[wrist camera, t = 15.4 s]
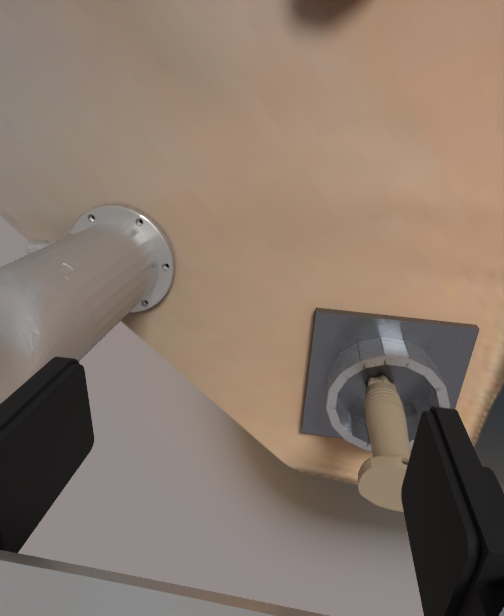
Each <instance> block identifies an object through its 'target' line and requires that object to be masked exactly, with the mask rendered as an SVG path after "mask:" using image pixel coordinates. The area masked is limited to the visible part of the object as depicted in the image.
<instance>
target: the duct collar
mask: <svg viewBox="0 0 504 616" xmlns="http://www.w3.org/2000/svg"><path fill="white" fill-rule="evenodd" d="M478 332H479V328H478V327H477V325H472V324H462V323H453V322H444V321H435V320H425V319H416V318H407V317H397V316H388V315H379V314H370V313H360V312H351V311H342V310H332V309H323V308H316V315H315V323H314V331H313V339H312V348H311V356H310V364H309V372H308V381H307V389H306V397H305V405H304V414H303V422H302V431H301V433H308V434H314V435H321V436H328V437H335V438H342V439H345V440H346V441H348V442H350V443H352V444H354V445H356V446H358V447H360V448H362V449H364V450H365V449H366V450H368V451H372V448H371V443H370V438H369V433H368V429H367V424H366V418H365V388H366V386H367V385H368V380H369V379H370V378H371V377H372V378H375V377H379V376H380V375H384V376H386V377H387V378H388V380H389V381H390V382H393V383H394V385H395V387H396V389H397V393H398V395H399V397H400V399H401V402H402V405H403V408H404V412H405V417H406V424H407V431H408V438H409V444H410V450H412V447H413V443H414V439H415V436H416V432H417V428H418V425H419V421H420V417H421V414H422V412H423V411H429V410H430V408H431V407H432V406H434V407H442V408H449V409H455V407H456V404H457V400H458V397H459V394H460V391H461V387H462V384H463V381H464V378H465V374H466V371H467V368H468V365H469V361H470V358H471V355H472V352H473V348H474V345H475V342H476V339H477V335H478Z"/></svg>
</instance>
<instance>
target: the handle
mask: <svg viewBox="0 0 504 616" xmlns="http://www.w3.org/2000/svg"><path fill="white" fill-rule="evenodd" d="M365 418H366V424H367V429H368V433H369V438H370V443H371V448H372V454H373V457H372V458H370V459H368V460H366V461H365V462H364V463H363V464H362V466H361V468H360V470H359V473H358V488H359V492H360V494H361V495H362V496H363V497H365V498H366V499H368V500H369V501H371V502H372V503H374V504H376V505H378V506H381V507H383V508H387V509H391V510H396V511H401V512H404V511H403V505H402V500H401V490H402V484H403V480H404V477H405V473H406V469H407V466H408V462H409V458H410V454H411V450H410V444H409V438H408V431H407V424H406V417H405V412H404V408H403V405H402V402H401V399H400V397H399V395H398V393H397V389H396V387H395V385H394V383H393V382H390V381H389V380H388V378H387V377H386V376H384V375H380V376H379V377H375V378H372V377H371V378H370V379H369V380H368V385H367V386H366V388H365Z"/></svg>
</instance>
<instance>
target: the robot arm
mask: <svg viewBox="0 0 504 616" xmlns="http://www.w3.org/2000/svg"><path fill="white" fill-rule="evenodd" d="M94 217H95V218H94ZM141 219H142V220H143V223H142V222H141ZM26 248H27V253H28V255H26V256H24V257H22V258H20V259H18V260H15V261H13V262H11V263H9V264H7V265H4V266H2V267H0V616H328V615H323V614H318V613H313V612H308V611H304V610H299V609H294V608H289V607H284V606H280V605H275V604H270V603H265V602H260V601H255V600H250V599H245V598H241V597H236V596H231V595H226V594H221V593H216V592H211V591H206V590H201V589H196V588H191V587H186V586H181V585H176V584H171V583H167V582H161V581H156V580H151V579H146V578H141V577H136V576H131V575H126V574H121V573H116V572H111V571H106V570H101V569H96V568H91V567H86V566H80V565H75V564H70V563H65V562H60V561H55V560H49V559H44V558H39V557H34V556H29V555H24V554H19V553H18V552H19V550H20V549H21V548H22V546H23V545H24V543H25V542H26V541H27V539H28V538H29V536H30V535H31V533H32V532H33V531H34V529H35V528H36V527H37V525H38V523H39V522H40V521H41V520H42V518H43V517H44V515H45V514H46V513H47V511H48V510H49V508H50V507H51V506H52V504H53V503H54V501H55V500H56V498H57V497H58V496H59V494H60V493H61V491H62V490H63V489H64V487H65V486H66V484H67V483H68V482H69V480H70V479H71V477H72V476H73V475H74V473H75V472H76V470H77V469H78V468H79V466H80V465H81V463H82V462H83V461H84V459H85V458H86V456H87V455H88V454H89V452H90V451H91V449H92V446H93V443H94V433H93V427H92V420H91V413H90V406H89V399H88V392H87V385H86V378H85V371H84V367H83V366H82V365H80V364H79V361H80V359H82V357H84V355H86V354H87V353H88V352H89V351H90V350H91V349H92V348H93V347H94V346H95V345H96V344H97V343H98V342H99V341H100V340H101V339H102V338H103V337H104V336H105V335H106V334H107V333H108V332H109V331H110V330H111V329H112V328H113V327H114V326H115V325H116V324H117V323H119V322H120V321H121V320H122V319H123V318H124V317H125V316H126V315H127V314H128V313H134V312H140V311H144V310H147V309H149V308H151V307H153V306H154V305H156V304H157V303H159V302H160V301H161V300H162V299H163V298H164V296H165V295H166V294H167V292H168V291H169V289H170V287H171V285H172V283H173V279H174V275H175V259H174V253H173V250H172V247H171V245H170V242H169V240H168V238H167V237H166V235H165V233H164V232H163V231H162V229H161V228H160V227H159V226H158V225H157V223H155V222H154V221H153V220H152V219H151V218H150V217H149V216H147V215H145V214H144V213H142V212H140V211H139V210H136V209H134V208H131V207H129V206H124V205H118V204H112V205H104V206H99V207H96V208H94V209H92V210H89V211H88V212H86V213H85V214H83V215H82V216H81V217H80V218H79V219H78V220H77V221H76V222H75V224H74V225H73V227H72V229H71V231H70V234H69V236H68V237H66V238H64V239H62V240H56V241H55V242H54V243H51V242H48V241H41V240H30V241H29V242H28V244H27V247H26ZM167 264H168V265H169V266H167ZM401 500H402V505H403V511H404V516H405V521H406V526H407V531H408V536H409V541H410V546H411V551H412V556H413V561H414V566H415V572H416V577H417V581H418V587H419V592H420V596H421V602H422V607H423V612H424V616H504V493H503V491H502V489H501V487H500V484H499V482H498V480H497V478H496V476H495V474H494V473H493V471H492V470H491V469H490V468H488V467H483V466H482V465H481V463H480V461H479V458H478V456H477V454H476V452H475V450H474V447H473V445H472V443H471V441H470V438H469V436H468V434H467V432H466V429H465V427H464V425H463V423H462V420H461V418H460V416H459V414H458V412H457V410H455V409H449V408H442V407H434V406H432V407H431V408H430V410H429V411H423V412H422V414H421V417H420V421H419V425H418V428H417V432H416V436H415V439H414V443H413V447H412V451H411V454H410V458H409V462H408V466H407V469H406V473H405V477H404V480H403V484H402V490H401Z"/></svg>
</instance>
